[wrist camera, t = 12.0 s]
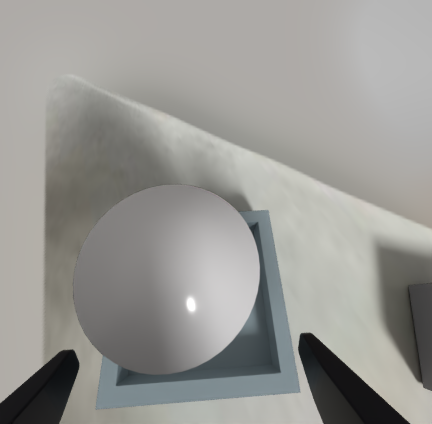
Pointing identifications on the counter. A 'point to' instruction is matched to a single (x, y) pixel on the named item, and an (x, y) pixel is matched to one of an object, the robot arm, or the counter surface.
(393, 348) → the counter surface
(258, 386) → the parts tray
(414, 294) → the light bulb socket
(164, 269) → the white rounded column
